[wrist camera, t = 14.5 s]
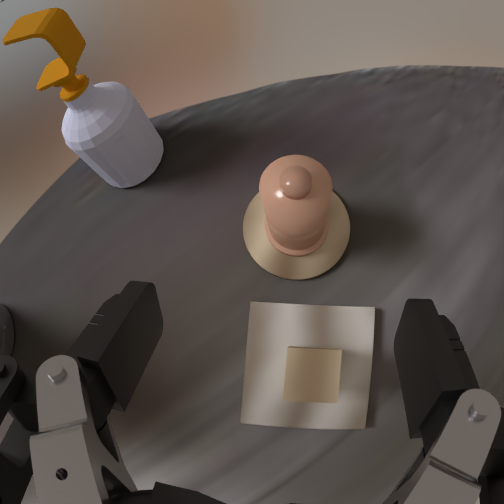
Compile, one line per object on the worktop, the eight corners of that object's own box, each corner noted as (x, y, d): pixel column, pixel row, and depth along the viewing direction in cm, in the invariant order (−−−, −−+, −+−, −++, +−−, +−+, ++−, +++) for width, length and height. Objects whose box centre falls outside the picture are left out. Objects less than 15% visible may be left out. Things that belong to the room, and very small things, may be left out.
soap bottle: (108, 138, 41) (8, 17, 17) (167, 124, 40) (81, -25, 16) (99, 194, 38) (-33, 78, 15) (162, 182, 37) (42, 28, 14)
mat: (239, 277, 33) (238, 275, 32) (248, 179, 36) (247, 176, 35) (348, 282, 31) (349, 281, 31) (348, 182, 34) (348, 180, 34)
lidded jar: (263, 255, 33) (248, 218, 23) (267, 197, 34) (255, 143, 25) (328, 258, 32) (339, 221, 22) (328, 198, 33) (337, 145, 24)
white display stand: (241, 420, 29) (224, 443, 21) (251, 302, 32) (237, 290, 24) (362, 426, 27) (382, 450, 20) (372, 308, 30) (395, 297, 23)
